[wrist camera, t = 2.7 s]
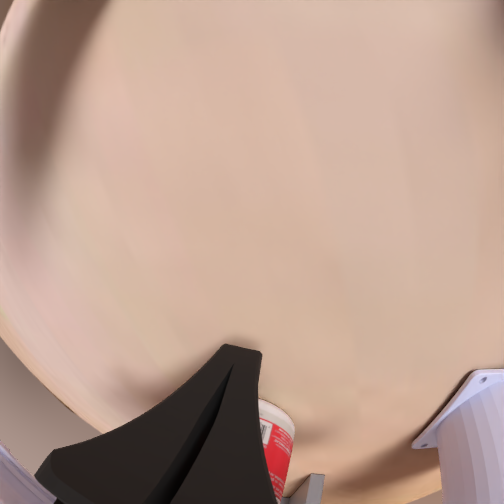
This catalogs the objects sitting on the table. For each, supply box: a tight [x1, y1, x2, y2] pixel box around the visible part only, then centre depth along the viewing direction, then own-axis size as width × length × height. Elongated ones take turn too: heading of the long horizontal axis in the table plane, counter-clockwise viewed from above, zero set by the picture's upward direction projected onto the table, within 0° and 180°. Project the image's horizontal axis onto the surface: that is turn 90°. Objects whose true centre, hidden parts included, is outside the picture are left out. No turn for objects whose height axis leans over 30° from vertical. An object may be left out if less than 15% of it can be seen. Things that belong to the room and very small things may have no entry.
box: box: [280, 474, 325, 504], centre depth 19 cm, size 14×11×3 cm
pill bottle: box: [258, 399, 295, 504], centre depth 10 cm, size 6×6×11 cm
